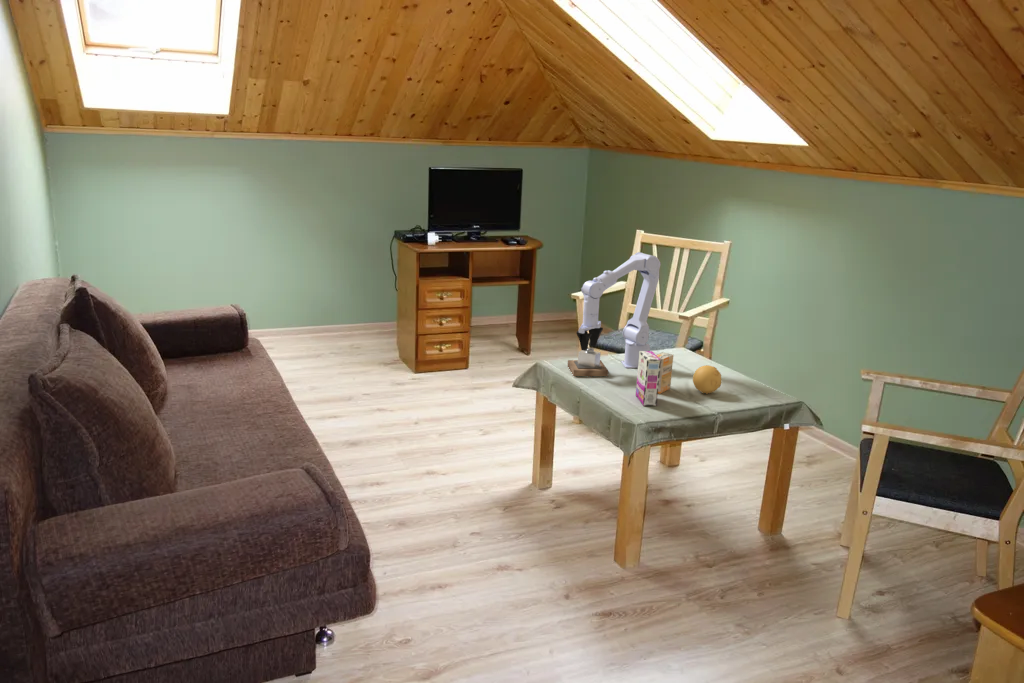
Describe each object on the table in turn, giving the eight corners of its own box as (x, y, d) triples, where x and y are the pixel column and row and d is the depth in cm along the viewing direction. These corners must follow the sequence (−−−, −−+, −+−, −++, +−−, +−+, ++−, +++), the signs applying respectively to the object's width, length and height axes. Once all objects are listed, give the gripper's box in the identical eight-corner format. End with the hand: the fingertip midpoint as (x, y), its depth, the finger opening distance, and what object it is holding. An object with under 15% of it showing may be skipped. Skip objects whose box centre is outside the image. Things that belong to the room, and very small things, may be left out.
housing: (580, 361, 306) (581, 345, 304) (602, 365, 301) (603, 349, 300) (574, 363, 302) (575, 348, 301) (597, 368, 298) (598, 352, 296)
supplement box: (660, 394, 280) (663, 359, 276) (648, 391, 282) (651, 356, 279) (671, 389, 286) (674, 354, 282) (658, 386, 289) (661, 351, 285)
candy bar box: (657, 406, 268) (661, 359, 263) (643, 406, 267) (646, 359, 263) (649, 395, 278) (652, 350, 274) (635, 395, 278) (638, 350, 273)
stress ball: (690, 396, 282) (707, 385, 274) (684, 371, 286) (701, 359, 278) (712, 398, 286) (730, 387, 278) (706, 373, 290) (724, 361, 282)
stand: (600, 366, 310) (600, 359, 309) (607, 376, 297) (608, 369, 297) (567, 366, 308) (567, 359, 308) (573, 376, 296) (573, 369, 295)
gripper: (591, 318, 289) (589, 354, 292) (608, 311, 301) (606, 345, 304) (574, 315, 292) (572, 350, 296) (592, 308, 304) (590, 342, 308)
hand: (588, 348), depth 300 cm, fingers open, 7 cm apart
